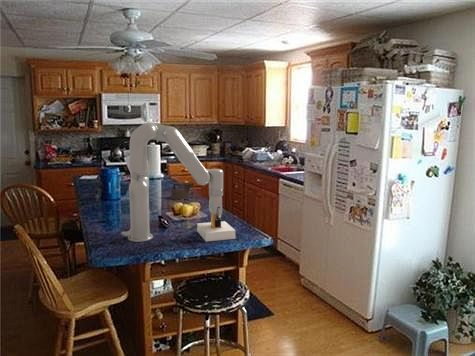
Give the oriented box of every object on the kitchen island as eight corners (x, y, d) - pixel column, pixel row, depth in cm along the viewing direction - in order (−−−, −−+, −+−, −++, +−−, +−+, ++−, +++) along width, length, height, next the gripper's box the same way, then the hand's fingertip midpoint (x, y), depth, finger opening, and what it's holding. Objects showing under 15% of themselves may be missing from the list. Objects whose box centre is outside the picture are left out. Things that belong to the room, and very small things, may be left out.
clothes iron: (190, 201, 292) (190, 183, 289) (170, 199, 296) (170, 181, 294) (195, 199, 299) (194, 181, 297) (175, 197, 304) (175, 179, 302)
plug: (212, 233, 212) (212, 215, 211) (210, 231, 216) (210, 213, 214) (220, 232, 214) (220, 214, 212) (218, 230, 217) (218, 212, 216)
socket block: (205, 241, 204) (205, 233, 203) (197, 231, 221) (197, 223, 220) (235, 238, 209) (235, 230, 209) (224, 228, 226) (224, 221, 225)
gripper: (204, 189, 218) (204, 221, 221) (213, 196, 202) (213, 230, 205) (218, 188, 220) (217, 220, 223) (227, 195, 204) (227, 228, 207)
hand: (215, 224), depth 214 cm, fingers open, 7 cm apart
